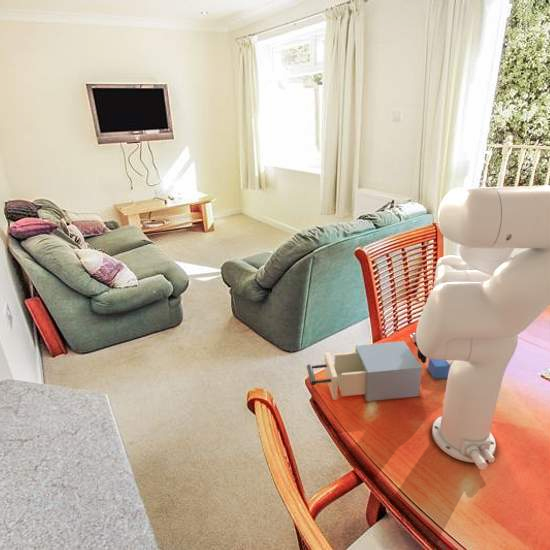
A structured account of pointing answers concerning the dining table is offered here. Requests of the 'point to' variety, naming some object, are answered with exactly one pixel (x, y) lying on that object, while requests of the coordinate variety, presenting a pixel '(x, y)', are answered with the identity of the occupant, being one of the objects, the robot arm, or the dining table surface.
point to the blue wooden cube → (438, 368)
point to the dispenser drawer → (342, 374)
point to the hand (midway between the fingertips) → (439, 358)
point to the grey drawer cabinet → (390, 370)
